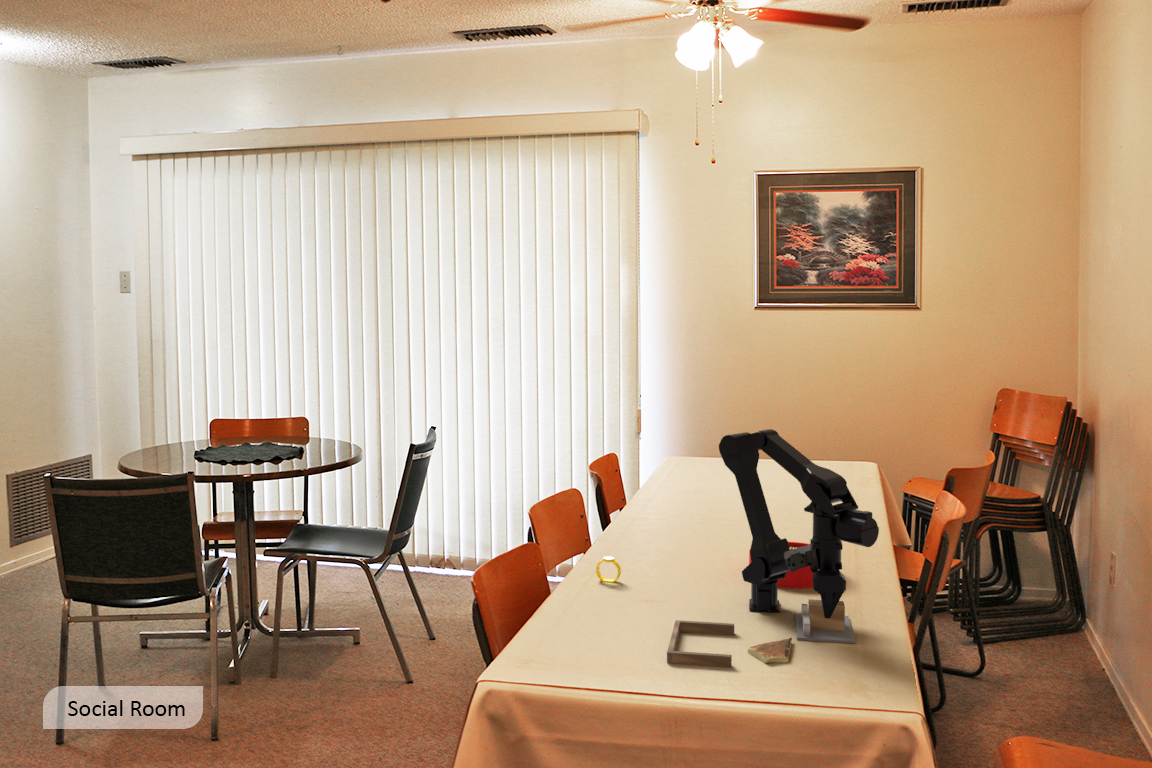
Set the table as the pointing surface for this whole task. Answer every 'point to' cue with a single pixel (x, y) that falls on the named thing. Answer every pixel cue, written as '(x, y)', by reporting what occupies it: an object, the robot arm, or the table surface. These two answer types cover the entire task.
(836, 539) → the robot arm
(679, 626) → the bar
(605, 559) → the watch
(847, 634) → the rubber mat
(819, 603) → the wood and metal bracket
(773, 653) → the shard
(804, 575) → the toy clock
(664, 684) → the table surface
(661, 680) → the table surface
